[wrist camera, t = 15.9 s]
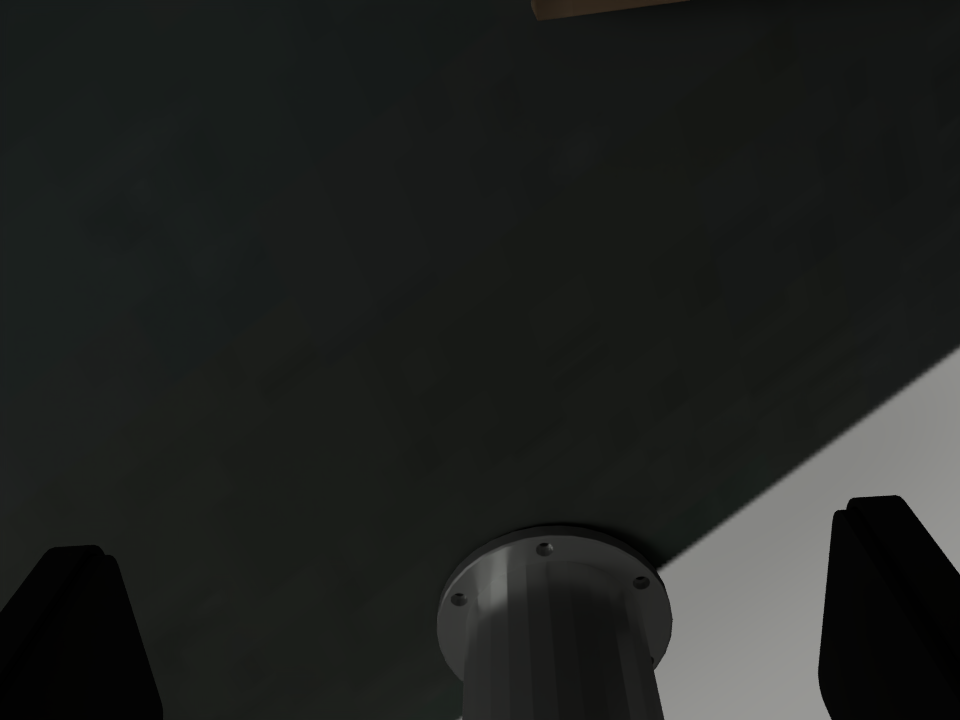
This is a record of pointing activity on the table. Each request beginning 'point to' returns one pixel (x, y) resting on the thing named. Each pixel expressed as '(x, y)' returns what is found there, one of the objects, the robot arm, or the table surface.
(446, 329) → the table surface
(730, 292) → the table surface
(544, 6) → the wooden tray
